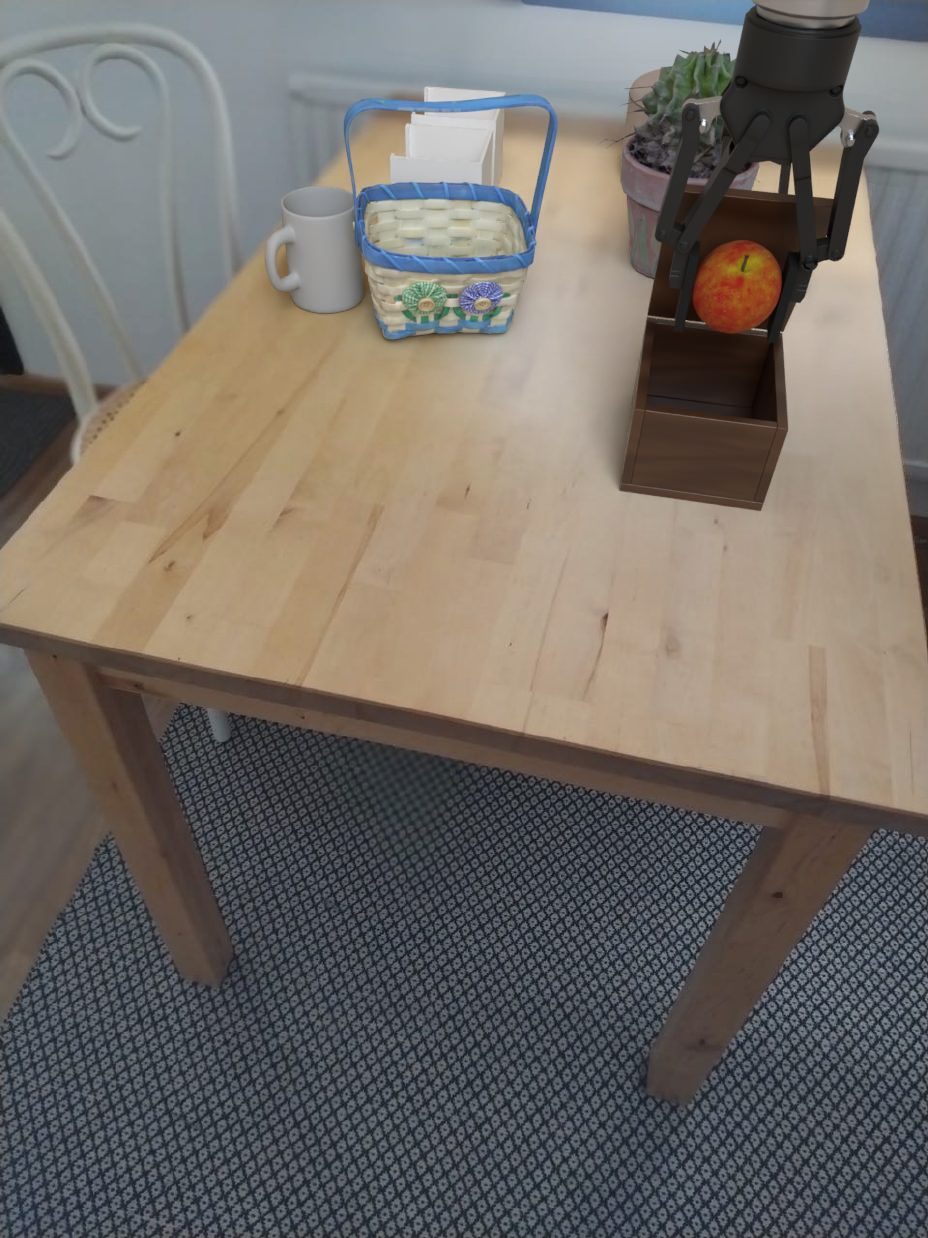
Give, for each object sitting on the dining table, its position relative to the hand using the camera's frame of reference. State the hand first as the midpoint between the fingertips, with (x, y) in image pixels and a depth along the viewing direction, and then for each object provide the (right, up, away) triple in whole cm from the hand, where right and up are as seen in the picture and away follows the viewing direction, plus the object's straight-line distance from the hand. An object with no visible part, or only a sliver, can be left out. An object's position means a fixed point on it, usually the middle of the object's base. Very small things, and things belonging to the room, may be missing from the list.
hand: (725, 328), depth 77 cm
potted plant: (+3, +20, +38) cm, 43 cm away
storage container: (-24, +31, +48) cm, 62 cm away
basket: (-24, +9, +28) cm, 38 cm away
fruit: (0, +2, +1) cm, 2 cm away
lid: (+1, +6, +2) cm, 7 cm away
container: (+10, +41, +58) cm, 71 cm away
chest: (0, -8, +12) cm, 14 cm away
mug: (-39, +13, +30) cm, 51 cm away
